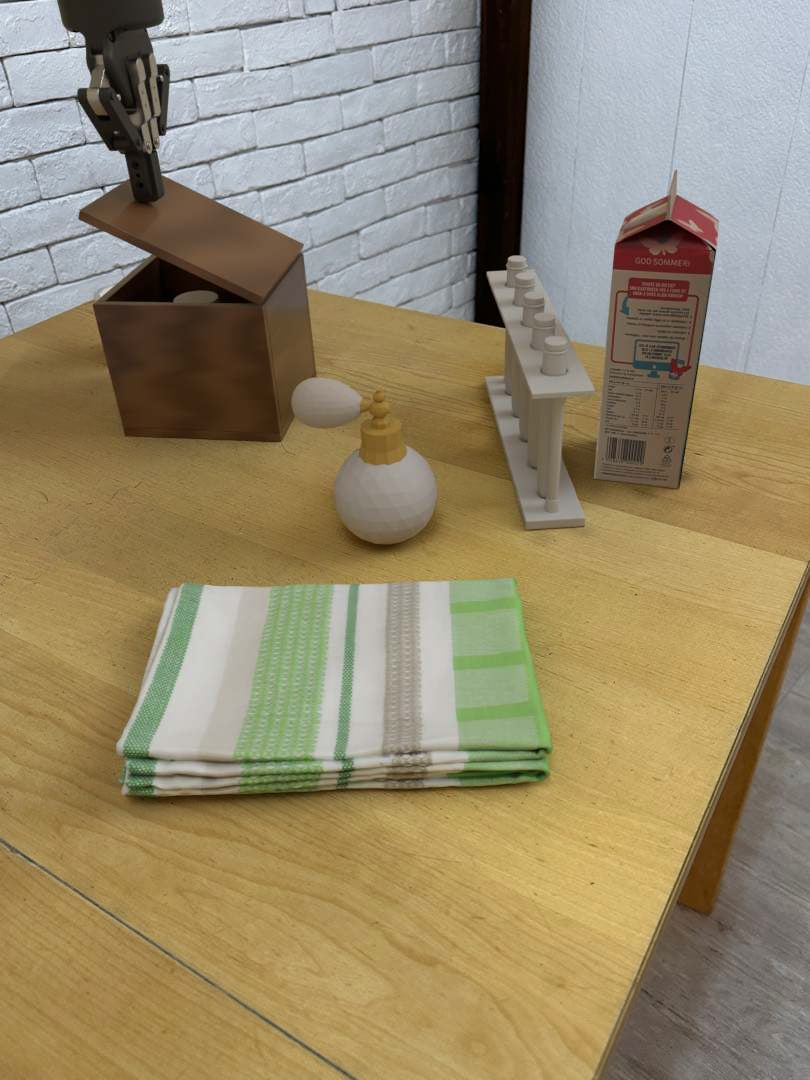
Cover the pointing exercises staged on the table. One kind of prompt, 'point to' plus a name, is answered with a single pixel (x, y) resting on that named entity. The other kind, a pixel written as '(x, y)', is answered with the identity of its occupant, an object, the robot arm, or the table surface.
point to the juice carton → (654, 340)
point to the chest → (205, 354)
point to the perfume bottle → (371, 464)
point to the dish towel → (337, 690)
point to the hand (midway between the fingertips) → (150, 199)
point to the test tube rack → (535, 397)
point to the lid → (198, 237)
